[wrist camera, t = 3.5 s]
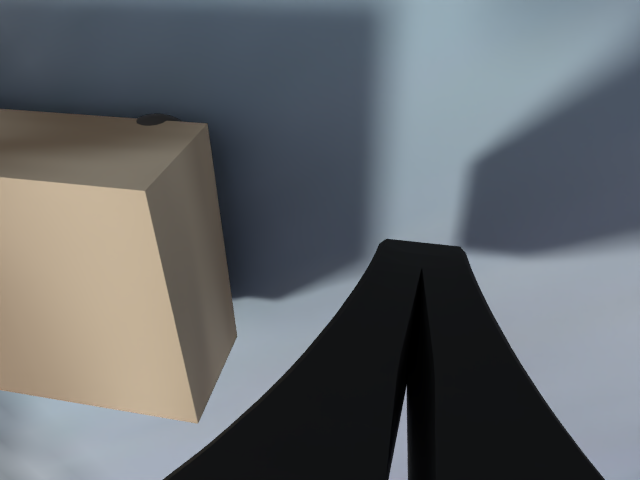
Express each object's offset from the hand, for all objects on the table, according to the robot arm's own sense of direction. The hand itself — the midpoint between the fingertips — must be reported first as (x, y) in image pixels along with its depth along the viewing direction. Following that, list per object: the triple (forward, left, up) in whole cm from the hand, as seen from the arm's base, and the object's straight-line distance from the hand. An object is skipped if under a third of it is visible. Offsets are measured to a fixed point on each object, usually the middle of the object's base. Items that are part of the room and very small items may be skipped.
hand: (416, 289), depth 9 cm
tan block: (+7, +3, -1) cm, 7 cm away
